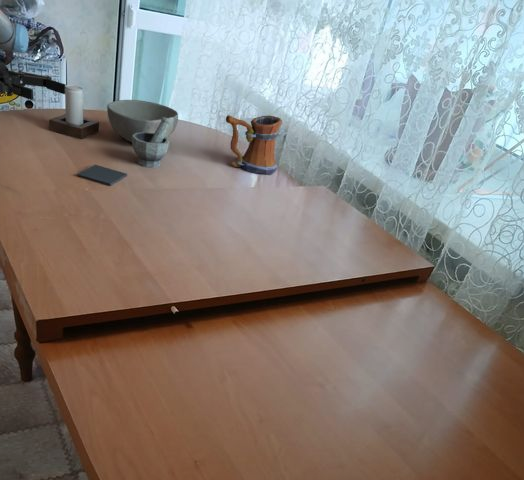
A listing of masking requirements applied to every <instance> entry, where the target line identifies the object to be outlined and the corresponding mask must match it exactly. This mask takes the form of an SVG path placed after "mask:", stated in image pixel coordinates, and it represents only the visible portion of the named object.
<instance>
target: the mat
mask: <svg viewBox="0 0 524 480" xmlns="http://www.w3.org/2000/svg"><path fill="white" fill-rule="evenodd" d="M76 177H77V178H81V179H85V180H88V181H92V182H95V183H99V184H102V185H106V186H109V187H111V186H113V185H114V184H116V183H119V182H120V181H121V180H123V179H125V178H126V177H128V173H126V172H122V171H119V170H116V169H112V168H109V167H105V166H103V165H102V166H101V165H98V164H93V165H91V166H90V167H87V168H86V169H84V170H82V171H79V172H78V173H76Z"/></svg>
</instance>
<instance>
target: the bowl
mask: <svg viewBox="0 0 524 480" xmlns="http://www.w3.org/2000/svg"><path fill="white" fill-rule="evenodd" d="M106 110H107V118H108V121H109V124H110V126H111V127H112V129H113V131H114V132H115V133H116V134H118V135H119V136H120V137H122V138H123V139H124V140H126V141H127V142H131V143H132V136H133V135H134V134H135V133H140V132H147V133H155V132H156V130H157V128H158V126H159V124H160V122H161V118H162V117H165V118H167V119H169V120H170V121H171V124H170V125H169V126H168V129H167V131H166V134H165V137H166V138H167V139H169V137H170V136H171V135H172V134H173V133H174V132H175V130H176V128H177V125H178V122H179V121H178V120H179V113H178V111H177V110H175V109H173V108H171V107H169V106H166V105H164V104H160V103H156V102H152V101H148V100H147V101H146V100H139V99H120V100H114V101H112V102H109V103H108V104H107V105H106Z"/></svg>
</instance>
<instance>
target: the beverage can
mask: <svg viewBox="0 0 524 480" xmlns="http://www.w3.org/2000/svg"><path fill="white" fill-rule="evenodd" d="M64 98H65V99H64V103H65V104H64V105H65V107H64V108H65V114H66V122H68V123H71V124H75V125H78V126H79V125H82V124H83V117H84V90H83V87H81V86H79V85H73V84H67V85H66V88H65V94H64Z"/></svg>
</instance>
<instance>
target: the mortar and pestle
mask: <svg viewBox="0 0 524 480" xmlns="http://www.w3.org/2000/svg"><path fill="white" fill-rule="evenodd" d="M170 124H171V121H170V120H169V119H167V118H165V117H162V118H161V122H160V124H159V126H158V128H157V130H156V132H155V133H147V132H140V133H135V134H134V135H133V136H132V142H131V143H132V144H131V145H132V149H133V151H134V153H135V154H136V155H137V163H138V164H139V166H143V167H145V168H154V169H155V168H160V166H161V164H162V161H161V160H162V159H163V158H164V157H165V156H166V154H167V152H168V151H169V146H170V139H169V138H166V137H165V134H166V131H167V129H168V126H169V125H170Z"/></svg>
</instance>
